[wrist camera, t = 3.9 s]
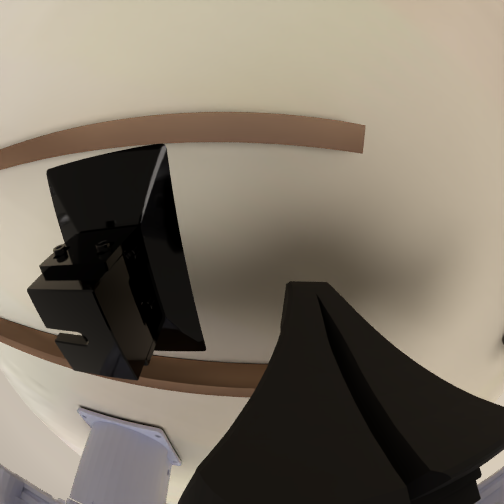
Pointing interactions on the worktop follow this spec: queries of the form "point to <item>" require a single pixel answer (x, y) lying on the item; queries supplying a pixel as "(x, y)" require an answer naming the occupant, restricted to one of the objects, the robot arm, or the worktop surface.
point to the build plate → (117, 265)
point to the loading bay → (176, 131)
